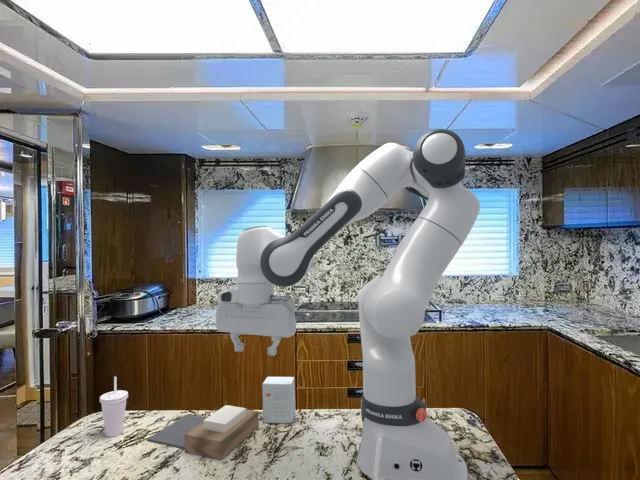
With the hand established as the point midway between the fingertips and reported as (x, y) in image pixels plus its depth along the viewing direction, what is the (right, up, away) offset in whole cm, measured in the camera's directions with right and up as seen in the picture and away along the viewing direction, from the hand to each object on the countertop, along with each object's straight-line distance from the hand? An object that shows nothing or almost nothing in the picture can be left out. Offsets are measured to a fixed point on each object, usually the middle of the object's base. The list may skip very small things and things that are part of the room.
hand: (255, 353), depth 88 cm
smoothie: (-37, -22, +6) cm, 43 cm away
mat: (-18, -22, +6) cm, 29 cm away
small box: (+4, -22, +13) cm, 26 cm away
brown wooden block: (-8, -22, +3) cm, 23 cm away
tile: (-8, -18, +2) cm, 19 cm away
